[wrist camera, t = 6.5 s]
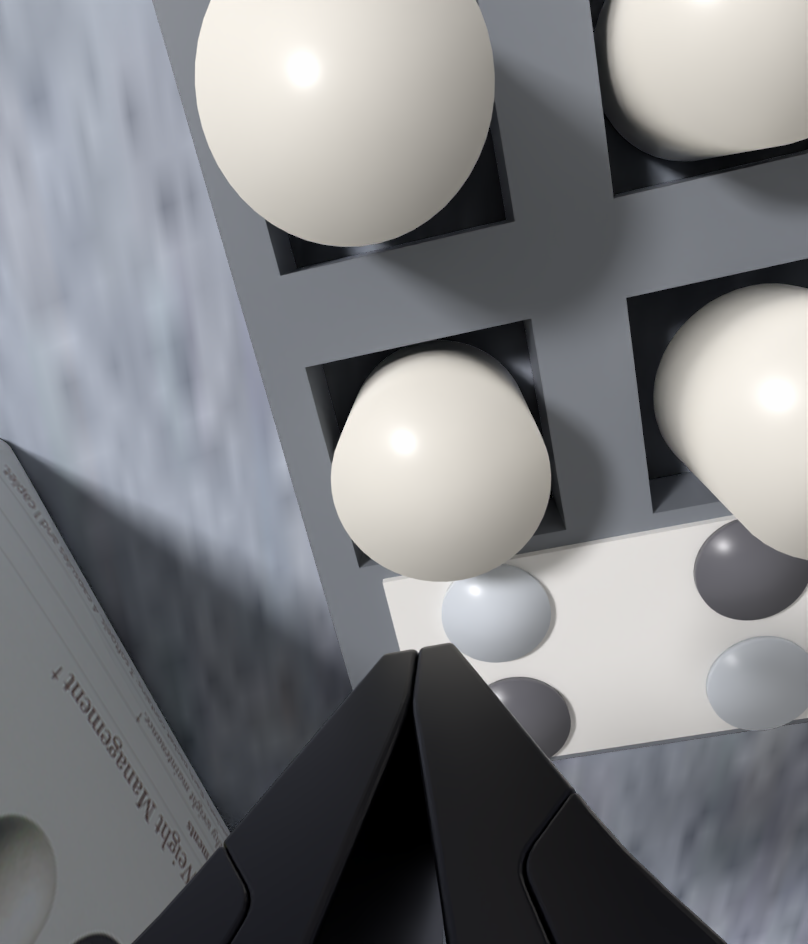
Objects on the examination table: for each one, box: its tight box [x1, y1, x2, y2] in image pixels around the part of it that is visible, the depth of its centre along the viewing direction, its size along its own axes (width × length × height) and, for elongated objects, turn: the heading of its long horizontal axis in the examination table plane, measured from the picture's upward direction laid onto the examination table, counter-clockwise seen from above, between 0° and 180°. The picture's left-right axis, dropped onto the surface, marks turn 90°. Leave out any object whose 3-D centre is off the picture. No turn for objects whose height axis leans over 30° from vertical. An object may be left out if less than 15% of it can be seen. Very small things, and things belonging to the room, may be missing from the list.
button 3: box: [594, 0, 808, 161], centre depth 14 cm, size 4×4×4 cm
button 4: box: [653, 283, 808, 560], centre depth 14 cm, size 4×4×4 cm
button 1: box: [195, 0, 495, 247], centre depth 13 cm, size 4×4×4 cm
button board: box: [152, 0, 808, 761], centre depth 17 cm, size 14×20×2 cm
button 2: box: [331, 340, 551, 582], centre depth 17 cm, size 4×4×4 cm
